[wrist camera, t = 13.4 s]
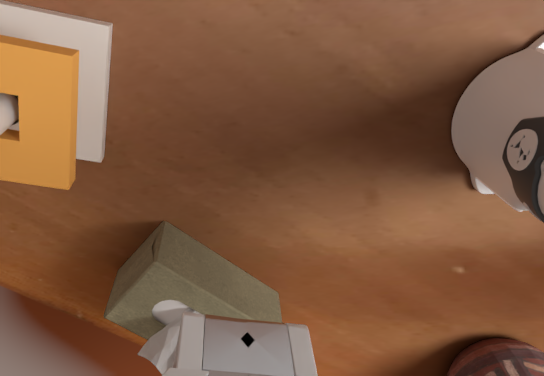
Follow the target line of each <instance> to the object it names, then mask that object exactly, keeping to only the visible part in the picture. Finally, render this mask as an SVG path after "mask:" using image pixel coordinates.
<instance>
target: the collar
mask: <svg viewBox="0 0 544 376" xmlns="http://www.w3.org/2000/svg"><path fill="white" fill-rule="evenodd" d="M78 77H79V50H76V49H71V48H66V47H61V46H56V45H50V44H45V43H40V42H35V41H30V40H25V39H20V38H15V37H10V36H5V35H0V93H5V94H11V95H16V96H18V106H19V131H18V130H12V129H7V130H6V131H5V132H4V133H2V134H1V135H0V180H4V181H10V182H17V183H24V184H31V185H37V186H44V187H51V188H58V189H65V190H69V189H70V187H71V186H72V184H73V182H74V181H75V170H76V139H77V108H78Z"/></svg>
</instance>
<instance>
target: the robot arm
mask: <svg viewBox="0 0 544 376" xmlns="http://www.w3.org/2000/svg"><path fill="white" fill-rule="evenodd" d="M451 133H452V141H453V145H454V148H455V151H456V153H457V154H458V156H459V158H460V159H461V160H462V161H463V162H464V164H465V165H466V166H467V167H468V169H469V171H470V176H471V181H472V185H473V187H474V188H475V189H476V190H477V191H478V192H480V193H482V194H496V195H497V196H498V197H500V198H501V199H502V200H503V201H504V202H506V203H507V204H508V205H509V206H511V207H512V208H513V209H515V210H517V211H519V212H522V211H523V210H525V211H529V212H530V213H532V214H533V215H534V216H535V217H536V218H538V219H539V220H540V221H542V222H544V35H542V36H541V37H540V38H538V39H537V40H536V41H535V42H534V43H532V44H531V45H530V46H529V47H528V48H526V49H524V50H522V51H520V52H517V53H515V54H512V55H509V56H507V57H505V58H502V59H500V60H499V61H497V62H495V63H493V64H492V65H490V66H489V67H487V68H486V69H485V70H484V71H482V72H481V73H480V74H479V75H478V76H477V77H476V78H475V79H474V80H473V81H472V82H471V83H470V85H469V86H468V87H467V89H466V90H465V91H464V93H463V95H462V96H461V98H460V100H459V102H458V104H457V106H456V109H455V112H454V115H453V120H452V128H451ZM162 376H318V375H317V370H316V365H315V360H314V355H313V350H312V345H311V340H310V335H309V330H308V327H307V326H306V325H302V324H291V323H286V324H285V323H279V322H269V321H259V320H249V319H239V318H231V317H223V316H216V315H208V314H205V315H204V314H197V313H190V312H183V314H182V319H181V324H180V330H179V335H178V341H177V346H176V352H175V358H174V364H173V368H169V369H168V370H167V371H166V372H165V373H164V374H163V375H162Z"/></svg>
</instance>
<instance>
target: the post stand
mask: <svg viewBox="0 0 544 376" xmlns="http://www.w3.org/2000/svg"><path fill="white" fill-rule="evenodd" d="M112 26H113V23H109V22H104V21H100V20H95V19H90V18H85V17H80V16H76V15H71V14H66V13H61V12H56V11H52V10H47V9H42V8H37V7H32V6H28V5H23V4H18V3H13V2H8V1H4V0H0V35H5V36H10V37H15V38H20V39H25V40H30V41H35V42H40V43H45V44H50V45H56V46H61V47H66V48H71V49H76V50H79V77H78V108H77V139H76V159H81V160H87V161H93V162H100V163H101V162H102V160H103V158H104V153H105V137H106V122H107V106H108V90H109V74H110V58H111V42H112ZM7 129H12V130H18V131H19V106H18V96H16V95H11V94H5V93H0V135H1V134H2V133H4V132H5V131H6V130H7Z"/></svg>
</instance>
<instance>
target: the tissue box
mask: <svg viewBox="0 0 544 376" xmlns="http://www.w3.org/2000/svg"><path fill="white" fill-rule="evenodd" d="M183 312H190V313H197V314H204V315H205V314H208V315H216V316H223V317H231V318H239V319H249V320H259V321H269V322H279V323H282V318H281V310H280V302H279V295H278V292H276V291H274V290H273V289H271V288H270V287H268V286H267V285H265V284H264V283H262V282H260V281H259V280H257V279H256V278H254V277H253V276H251V275H249V274H248V273H246V272H245V271H243V270H242V269H240V268H239V267H237V266H235V265H234V264H232V263H231V262H229V261H228V260H226V259H224V258H223V257H221V256H220V255H218V254H217V253H215V252H214V251H212V250H210V249H209V248H207V247H206V246H204V245H203V244H201V243H199V242H198V241H196V240H195V239H193V238H192V237H190V236H189V235H187V234H185V233H184V232H182V231H181V230H179V229H178V228H176V227H174V226H173V225H171V224H170V223H168V222H167V221H163V222H162V223H161V224H160V225H159V226H158V227H157V228H156V229H155V230H154V231H153V233H152V234H151V235H150V236H149V237H148V238H147V239H146V240H145V241H144V242H143V244H142V245H141V246H140V247H139V248H138V249H137V250H136V251H135V252H134V253H133V255H132V256H131V257H130V258H129V259H128V260H127V261H126V262H125V263H124V264H123V266H122V267H121V268H120V269H119V270H118V272H117V275H116V278H115V281H114V284H113V288H112V291H111V294H110V297H109V300H108V303H107V306H106V309H105V312H104V318H106V319H108V320H110V321H112V322H114V323H116V324H118V325H120V326H122V327H124V328H126V329H128V330H129V331H131V332H133V333H135V334H137V335H139V336H141V337H143V338H145V339H147V340H148V341H147V342H146V343H145V345H144V346H143V347H142V349H141V350H140V352H139V353H138V355H140V356H142V357H145V358H146V359H148V360H150V361H151V362H152V363H153V364H154V365H155V366H156V367H157V369H158V370H159V371H160V372H161V374H162V375H163V374H164V373H165V372H166V371H167V370H168V369H169V368H173V364H174V358H175V352H176V346H177V341H178V335H179V330H180V324H181V319H182V314H183Z"/></svg>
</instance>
